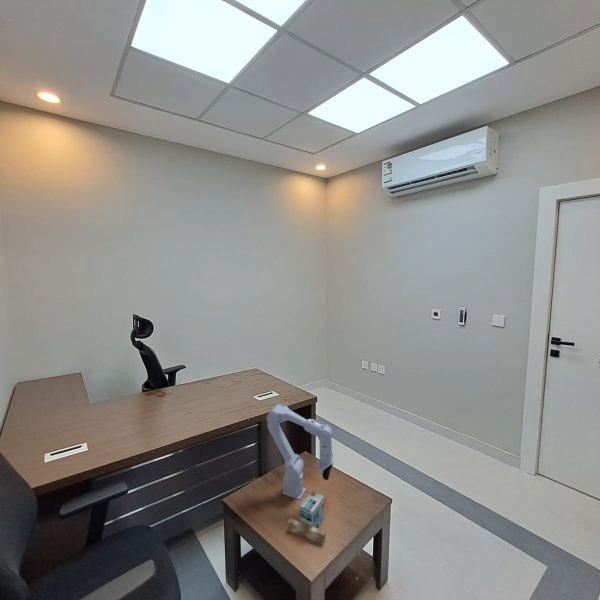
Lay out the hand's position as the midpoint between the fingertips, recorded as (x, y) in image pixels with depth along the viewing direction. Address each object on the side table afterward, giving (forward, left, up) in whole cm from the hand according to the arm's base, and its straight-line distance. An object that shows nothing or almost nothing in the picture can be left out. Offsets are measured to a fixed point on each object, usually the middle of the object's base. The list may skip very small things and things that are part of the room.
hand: (326, 478), depth 150 cm
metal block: (0, -23, -10) cm, 25 cm away
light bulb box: (0, -16, -11) cm, 19 cm away
